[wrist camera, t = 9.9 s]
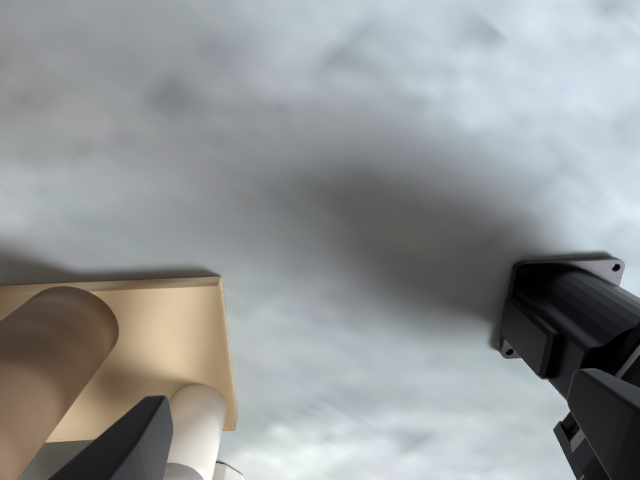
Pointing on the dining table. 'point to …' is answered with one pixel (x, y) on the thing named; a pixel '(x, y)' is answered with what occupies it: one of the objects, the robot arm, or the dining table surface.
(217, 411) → the salt shaker
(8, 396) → the pepper mill
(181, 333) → the board
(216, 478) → the white cup
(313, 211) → the dining table surface
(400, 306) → the dining table surface
